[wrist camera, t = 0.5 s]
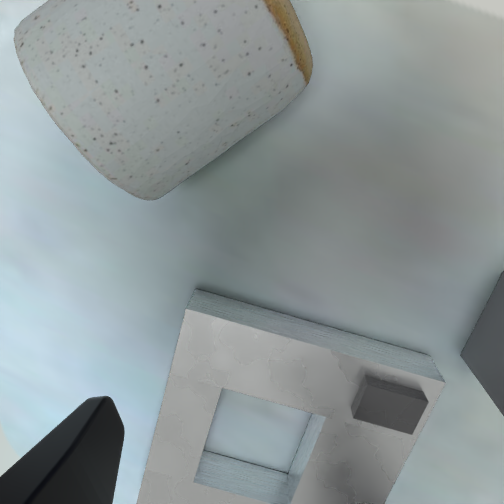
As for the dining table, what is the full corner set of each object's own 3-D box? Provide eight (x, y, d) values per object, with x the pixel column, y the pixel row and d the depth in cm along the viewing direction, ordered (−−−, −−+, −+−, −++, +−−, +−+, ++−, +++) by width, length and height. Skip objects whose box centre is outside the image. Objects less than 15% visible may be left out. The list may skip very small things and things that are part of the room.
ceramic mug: (320, 85, 19) (339, 66, 12) (177, 187, 21) (117, 225, 14) (177, -150, 17) (93, -351, 10) (32, -13, 19) (-129, -94, 12)
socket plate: (341, 537, 27) (349, 589, 24) (145, 482, 27) (128, 529, 24) (429, 355, 23) (452, 393, 20) (195, 288, 23) (182, 316, 20)
